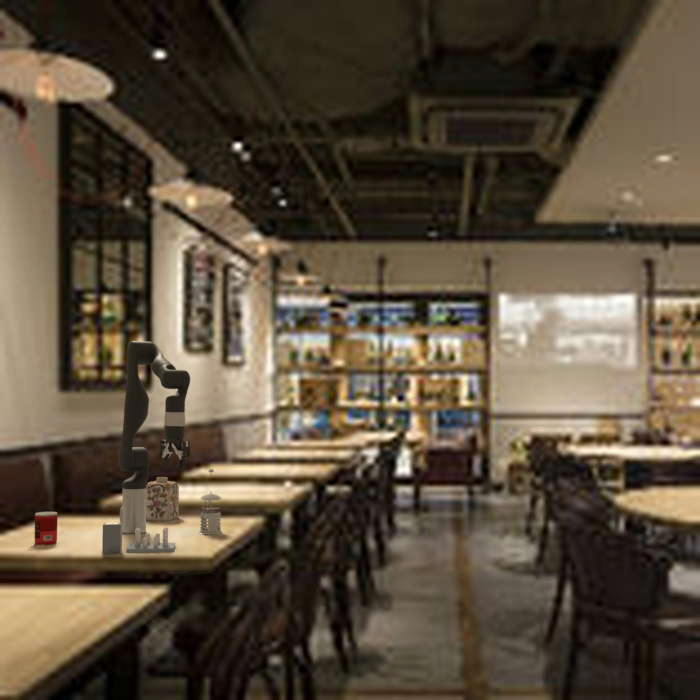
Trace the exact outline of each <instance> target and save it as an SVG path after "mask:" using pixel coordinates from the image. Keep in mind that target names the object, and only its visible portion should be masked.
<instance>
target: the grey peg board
mask: <svg viewBox="0 0 700 700" xmlns="http://www.w3.org/2000/svg"><path fill="white" fill-rule="evenodd" d="M141 534H142V533H141V528H136V529H135V534H134V542H130V543H129V544H128V546H127V548H126V553H170V552H171V553H172V552H173V551H174V552H175V549H174V548H176V542H169V527H166V526H165V527H163V529H162V542H161V533H155V536H154V537H153V542H150V541H151V539H150V537H151V536H150V535H151V534H150V533H145V534H144V537H143V538H142V537H141ZM141 538H142V542H141ZM174 552H173V553H174Z"/></svg>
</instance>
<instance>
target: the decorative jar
mask: <svg viewBox="0 0 700 700" xmlns="http://www.w3.org/2000/svg"><path fill="white" fill-rule="evenodd" d="M179 492H180V487H179V485H178V484H177V482H176V481H172V480H171V481H170V480H168V477H165V476H158V477H156V480H154V481H153V480H152V481H150V482H147V490H146V522H149V521H150V522H170V521H173V520H176V519H178V518H179V515H180V513H179V510H180V509H179V507H180V501H179V500H180V493H179Z"/></svg>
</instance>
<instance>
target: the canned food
mask: <svg viewBox="0 0 700 700" xmlns="http://www.w3.org/2000/svg"><path fill="white" fill-rule="evenodd" d="M57 542H58V512H57V511H40V512H35V514H34V544H35V545H37V546H50V545H51V546H52V545H55V544H57Z"/></svg>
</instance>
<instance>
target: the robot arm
mask: <svg viewBox="0 0 700 700" xmlns="http://www.w3.org/2000/svg"><path fill="white" fill-rule="evenodd" d="M149 365H151V370H152V373H153V374H154V375H155V376H156V377H157V378H158V379H159V381H160V384H161V387H163V389H167V390H177V391H176V392H175V394H172V395H169V396H167V397H166V398H165V407H164V408H165V409H164V410H165V411H164V419H163V420H164V421H163V423H164V425H163V427H164V428H163V433H164V435H163V436H164V438H165V439H160V440H159V451H158V455H159V457H162V464H163V465H162V466H163V469H170V459H171V458H170V456H171V455H172V454H173V453H175V454H176V455H177V456H178V458H179V459H178V470H179V471H184V470H185V469H186V460H187V459H190V458H191V457H190V456H191V451H190V450H191V449H190V446H191V445H190V441H189V440H188V441H187V440H185V441H184V438H185V437H186V413H185V412H186V398H187V394H188V390H189V387H190V384H191V376H190V373H189V372H188V370H185V369H176V367H175V365H173V363H171V362H170V361H169V360H167V359H166V358H165V356H164V354H163V353H162V351H161V350H160V349H159V347H158V345H157V344H155V342H153V341H143V340H141V341H140V340H131V341H130V342H129V343H128V346H127V351H126V389H125V397H124V409H123V423H122V424H123V425H122V435H121V441H120V446H119V453H118V467H119V469H120V471H122V472H134V473H133V475H131V476H130V477H129V478H127V479H125V480H124V481H122V499H121V501H122V503H121V504H122V505H121V507H120V508H119V523H122V532H123V533H122V534H128V533H131V534H132V533H133V534H134V533H135V529H136V528H141V534H142V533H146V532H147V520H146V490H147V484H148V480H149V465H150V455H149V451H148V449H147V448H146V447H144V446H142V447H141V446H136V447H134V446H133V445H134V441H135V438H136V435H137V434H138V431H139V430H140V429H141V428H142V425H143V424H144V423H145V421H146V420H147V418H148V415H149V405H150V397H149V394H148V393H147V391H146V388H145V387H144V385H143V383H142V381H141V379H140V377H139V366H149ZM134 535H135V534H134Z"/></svg>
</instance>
